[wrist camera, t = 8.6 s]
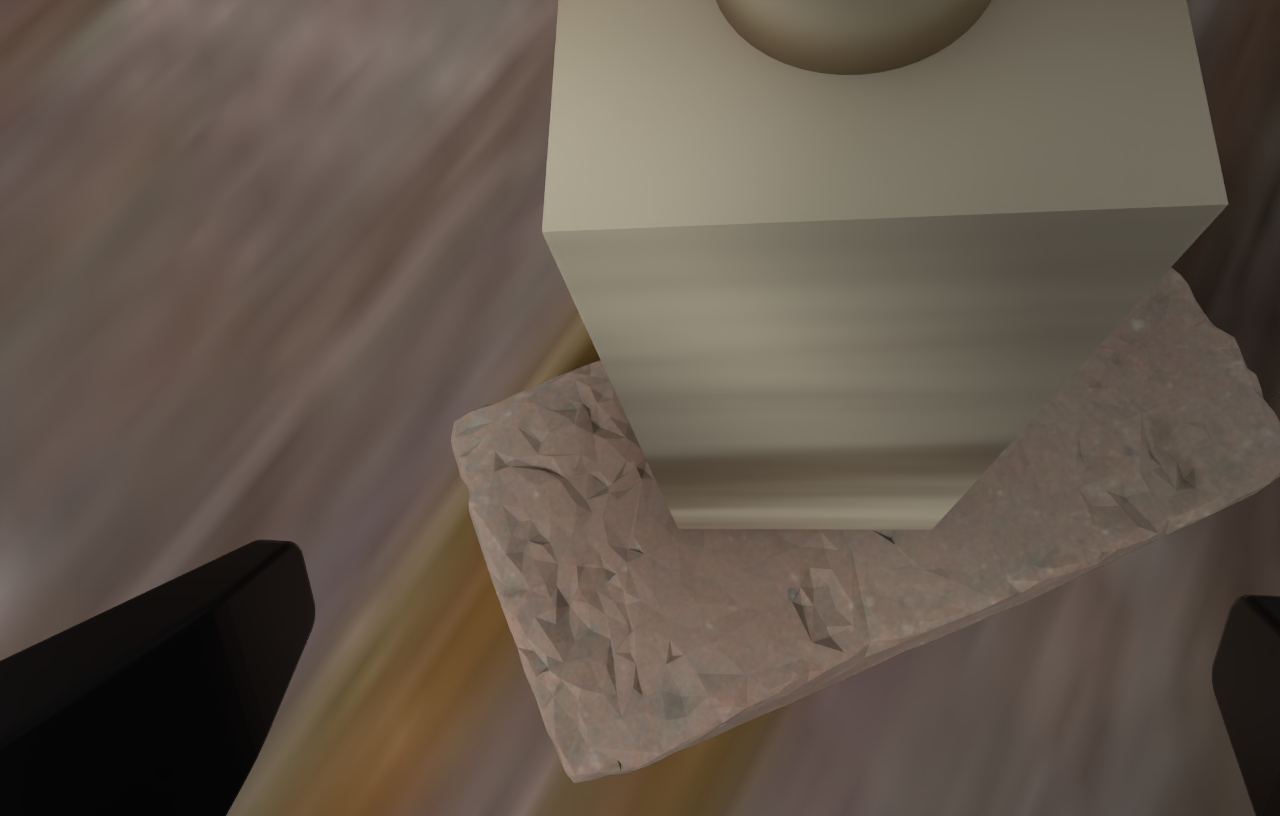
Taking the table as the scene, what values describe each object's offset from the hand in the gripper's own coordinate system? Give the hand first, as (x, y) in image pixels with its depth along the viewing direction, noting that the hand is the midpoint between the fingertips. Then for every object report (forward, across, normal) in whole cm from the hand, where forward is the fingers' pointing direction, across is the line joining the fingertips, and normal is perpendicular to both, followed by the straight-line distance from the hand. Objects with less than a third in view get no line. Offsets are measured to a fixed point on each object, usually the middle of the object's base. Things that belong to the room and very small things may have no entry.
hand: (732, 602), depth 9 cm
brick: (+13, -2, +6) cm, 15 cm away
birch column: (+10, -1, +3) cm, 10 cm away
